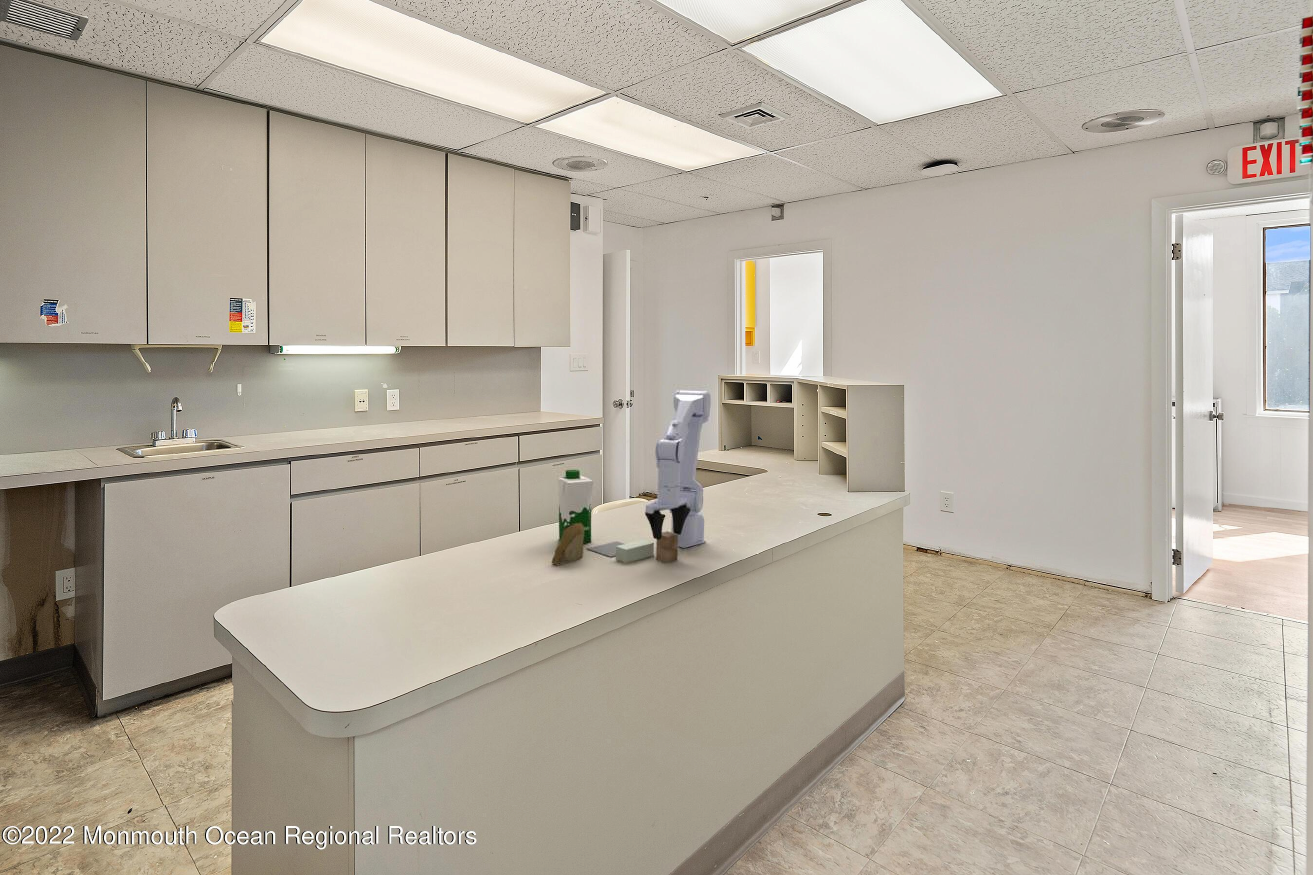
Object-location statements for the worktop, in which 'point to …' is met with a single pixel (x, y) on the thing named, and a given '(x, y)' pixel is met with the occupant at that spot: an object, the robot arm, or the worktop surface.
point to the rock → (570, 545)
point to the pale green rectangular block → (634, 551)
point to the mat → (606, 549)
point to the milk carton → (575, 502)
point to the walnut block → (667, 547)
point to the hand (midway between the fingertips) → (667, 536)
